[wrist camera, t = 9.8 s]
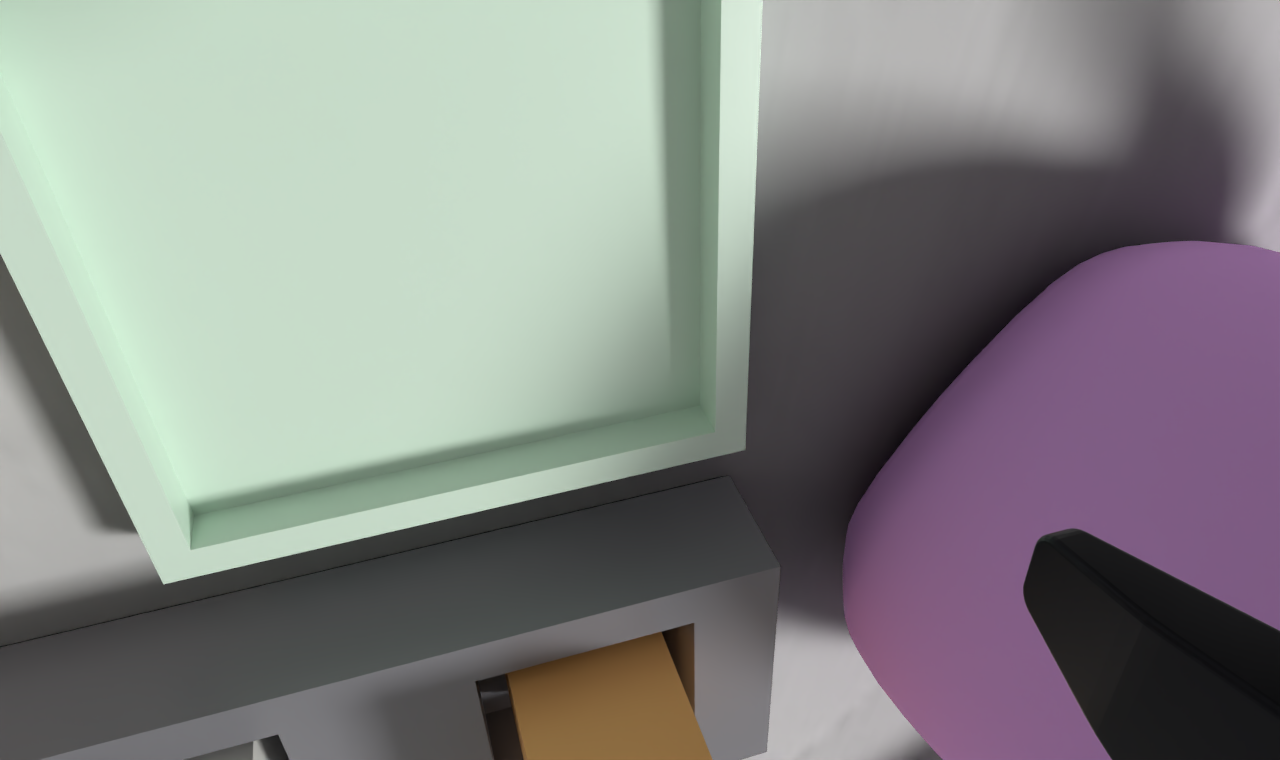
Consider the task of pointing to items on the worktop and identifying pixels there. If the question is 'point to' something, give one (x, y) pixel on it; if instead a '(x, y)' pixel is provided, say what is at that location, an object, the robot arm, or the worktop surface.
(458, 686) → the strip
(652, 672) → the orange block
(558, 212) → the tray
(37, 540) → the worktop surface
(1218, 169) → the worktop surface
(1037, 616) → the robot arm
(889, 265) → the worktop surface
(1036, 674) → the teapot
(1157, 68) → the worktop surface
